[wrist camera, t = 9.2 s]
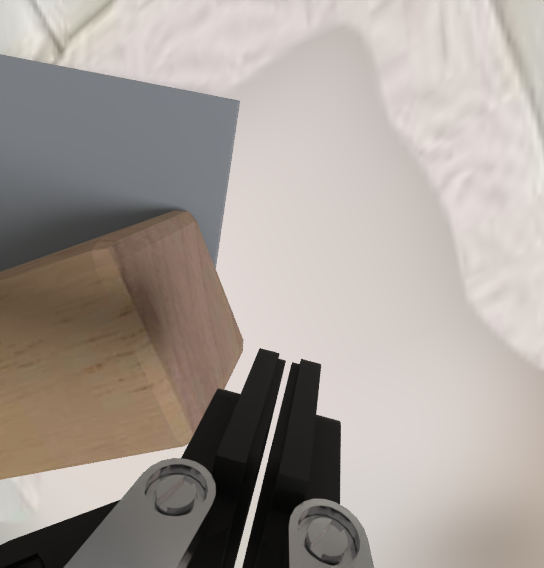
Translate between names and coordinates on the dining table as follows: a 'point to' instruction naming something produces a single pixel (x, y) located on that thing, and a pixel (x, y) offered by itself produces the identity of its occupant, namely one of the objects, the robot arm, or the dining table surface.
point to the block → (111, 347)
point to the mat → (104, 157)
